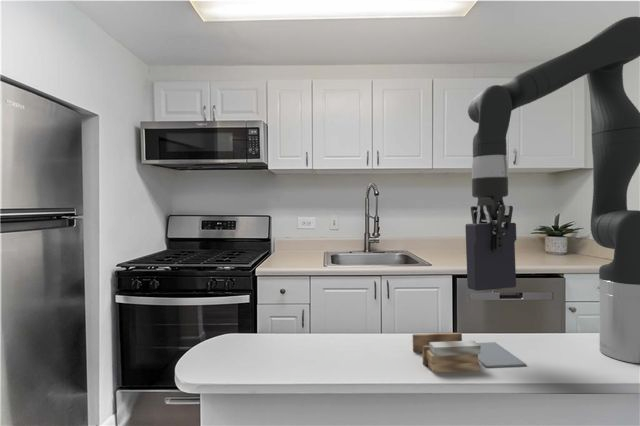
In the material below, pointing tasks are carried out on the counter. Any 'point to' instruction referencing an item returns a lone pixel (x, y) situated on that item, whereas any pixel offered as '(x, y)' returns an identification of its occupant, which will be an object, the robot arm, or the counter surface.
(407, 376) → the counter surface
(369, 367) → the counter surface
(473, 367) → the offcut stack
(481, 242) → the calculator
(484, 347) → the slate mat
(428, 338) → the rack
